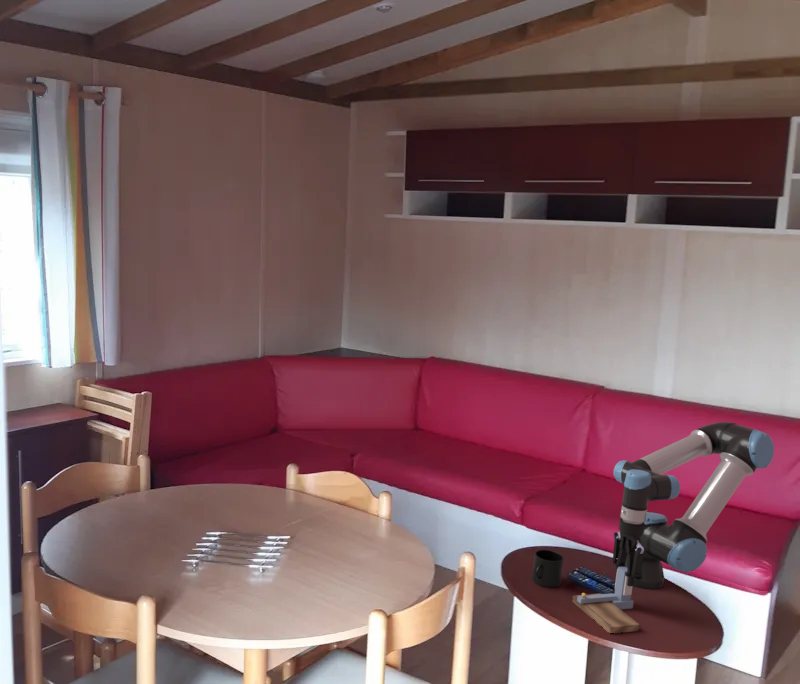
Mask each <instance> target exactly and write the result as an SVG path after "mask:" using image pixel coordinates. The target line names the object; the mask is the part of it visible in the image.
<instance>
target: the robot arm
mask: <svg viewBox="0 0 800 684" xmlns="http://www.w3.org/2000/svg"><path fill="white" fill-rule="evenodd" d="M774 448H775V445H774V441H773V439H772V437H771V436H770V435H769V434H767V433H766V432H763V431H761V430H758V429H754V428H751V427H748V426H744V425H741V424H737V423H734V422H731V421H720V422H714V423H710V424H707V425H703V426H701V427H699V428H697V429H694V430H692V431H691V432H690V434H689V435H687V436H686V437H684V438H682V439H680V440H677V441H675V442H673V443H671V444H669V445H666V446H664V447H662V448H660V449H658V450H656V451H654V452H653V451H652V453H649V454H647V455H645V456H642V457H640V458H639V459H636V460H634V461H632V462H631V461H630V460H625V459H623V460H620V461H618V462H617V463H616V464H615V466H614V468H613V472H612V473H613V477H614V479H615V480H616V482H619V483H621V484H622V485H624V486H623V492H622V493H623V494H622V502H621V510H620V519H619V523H618V530H619V531H617V532H614V533H613V538H614V543H613V552H612V564H615V567H616V569H615V579H616V578H617V570H618V567H625V566H628V567H627V574H625V581H624V588H623V595H624V596H625V595H631V596H632V594H633V586H634V587H637V588H641V589H648V590H650V589H653V590H655V589H660V588H662V587H663V586H664V584H665V574H664V569H663V563H664V564H666V565H669V567H671V568H672V569H675V570H678V571H680V572H682V573H683V572H684V573H689V572H693V571H696V570H697V569H698V568H700V567H701V565H702V564H703V563H704V562H705V560H706V558H707V555H706V554H708V548H707V545H706V543H707V542H708V538H707V533H708V532H709V530H710V528H711V527H712V526H713V524H714V522H715V521H716V520H717V519H718V517H719V515H720V514H721V513H722V511H723V510H724V508H725V506H726V505H727V504H728V502H729V501H730V499H731V498H732V496H733V495H734V493H735V492H736V491H737V489H738V487H739V486H740V485H741V484H742V482H743V480H744V479H745V477H747V476H753V474H754V473H755V472H756V470H757V469H759V470H760V469H762V470H763V469H765V468H767V467H769V465H770V464H771V463H772V461H773V458H774V454H775V449H774ZM710 455H719V457H720V459H721V460H720V462H719V464H718V465H717V466H716V468H715V470H713V472H712V474H711V475H710V476H709V478H708V479H707V481H706V482H705V484H704V485H703V487H702V488H701V490H700V491H699V492H698V494H697V496H696V497H695V498H694V500H693V501H692V503H691V504H690V505H689V507H688V509H687V510H686V511H685V512H684V515H683V516H682V517H681V518H675V519H674V520H673V521H672V523H671V524H670V525H669V524H668V518H667V516H666V515H664V514H661V513H656V512H648V505H649V502H654V501H655V502H656V501H669V500H671V499H673V500H674V499H675V498H677V497H678V496H679V494H680V492H681V483H680V481H679V480H678V478H677V477H676V476H675V475H672V474H665V473H667V472H669V471H671V470H674V469H676V468H678V467H680V466H682V465H683V464H686V463H688V462H691V461H693V460H694V459H697V458H699V457H708V456H710ZM662 562H663V563H662ZM615 585H616V581H615V583H614V586H615Z"/></svg>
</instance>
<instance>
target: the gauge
mask: <svg viewBox="0 0 800 684" xmlns="http://www.w3.org/2000/svg"><path fill="white" fill-rule="evenodd" d="M627 567H628V566H625V567H618V570H617V578H616V577H615V582H616V585H615V584H614V593H613V592H612V593H600V594H599V593H598V594H599V595H588V594H587V593H585V592H582V593H581V595H582V596H578V598H577V601H578V602H579V603H580V604H583V603H594V602H605V601H610V602H612V603H613V604H614V605H615V606H617V607H618V608H619V609H621V610H631V609H633V608H634V602H635V601H634V600H633V598H632V597H631V596H632V594H631V595H625V596H624V595H623V588H624V581H625V574H627ZM586 595H588V596H586Z"/></svg>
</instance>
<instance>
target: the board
mask: <svg viewBox="0 0 800 684" xmlns="http://www.w3.org/2000/svg"><path fill="white" fill-rule="evenodd" d="M599 594H601V593H600V592H599V593H591V594H590V593H588V594H586V596H588V595H599ZM578 596H582V594H578V595H572V603H574V605H576V606H577V607H578V608H579V609H580V610H581V611H582V612H584V613H585V614H586V615H587V616H588V617H589V618H591V619H592V620H593V619H594V620H595V621H596V622H595V621H594V620H593V621H594V622H595V623H596V624H597V625H599V626H600V627H601V626H602V627H603V630H605V631H606V632H607V633H608V632H609V633H614V634H621V632H623V633H630V632H639V629H640V623H639V622H637V621H636V620H634V619H633V618H632V617H631V616H630V615H628V614H627V613H625V612H624V611H623V609H619V608H618V607H617V606H615V605H614V604H613V603H612V602H610V601H605V602H594V603H583V604H580V603H579V602H578V601H577V598H578ZM602 627H601V628H602ZM609 633H608V634H609Z"/></svg>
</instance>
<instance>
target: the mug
mask: <svg viewBox="0 0 800 684" xmlns="http://www.w3.org/2000/svg"><path fill="white" fill-rule="evenodd" d="M564 560H565V558H564V556H563V555H562V554H561V553H559V552H557V551H553V550H550V549H539V550H536V551H534V559H533V566H532V573H531V580H532V582H533V583H534V584H536V585H538V586H540V587H545V588H557V587H559V586H560V585H561V584H562V583H561V582H562V577H563V576H562V573H563V567H564Z"/></svg>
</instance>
